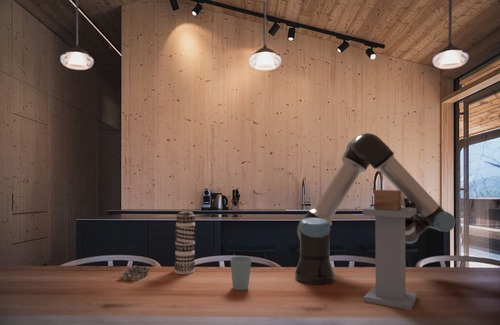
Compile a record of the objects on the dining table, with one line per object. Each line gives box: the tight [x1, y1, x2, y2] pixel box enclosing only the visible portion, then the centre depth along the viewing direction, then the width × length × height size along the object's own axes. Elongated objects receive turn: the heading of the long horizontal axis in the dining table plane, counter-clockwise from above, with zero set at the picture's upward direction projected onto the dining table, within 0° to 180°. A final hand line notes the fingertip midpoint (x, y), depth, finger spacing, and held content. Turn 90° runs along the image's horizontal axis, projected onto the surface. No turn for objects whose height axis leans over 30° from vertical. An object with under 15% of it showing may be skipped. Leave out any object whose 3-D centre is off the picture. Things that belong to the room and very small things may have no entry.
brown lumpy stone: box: [121, 265, 150, 282], centre depth 140 cm, size 11×8×4 cm
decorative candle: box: [173, 210, 197, 275], centre depth 151 cm, size 9×9×25 cm
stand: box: [362, 205, 418, 311], centre depth 119 cm, size 14×17×30 cm
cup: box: [230, 256, 252, 291], centre depth 128 cm, size 8×8×10 cm
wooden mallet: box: [373, 189, 403, 210], centre depth 123 cm, size 26×7×6 cm, turn 149°
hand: (395, 195), depth 128 cm, fingers closed on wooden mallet, 3 cm apart
